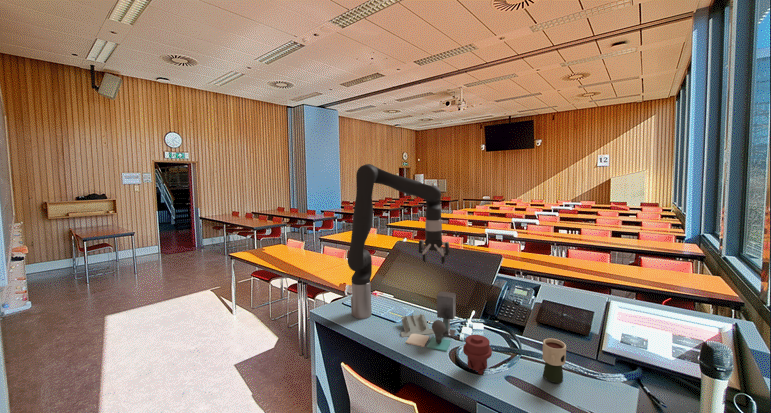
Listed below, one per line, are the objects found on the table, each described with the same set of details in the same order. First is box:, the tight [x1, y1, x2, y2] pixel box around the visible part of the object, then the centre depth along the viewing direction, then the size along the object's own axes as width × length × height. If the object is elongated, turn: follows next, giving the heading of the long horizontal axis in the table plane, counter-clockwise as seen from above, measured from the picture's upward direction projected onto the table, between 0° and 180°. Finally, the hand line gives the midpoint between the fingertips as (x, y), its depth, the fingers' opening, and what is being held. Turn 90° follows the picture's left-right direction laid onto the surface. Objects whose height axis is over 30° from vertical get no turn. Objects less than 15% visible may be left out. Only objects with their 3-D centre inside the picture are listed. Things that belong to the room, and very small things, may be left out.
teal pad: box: [427, 336, 452, 352], centre depth 140 cm, size 8×8×1 cm
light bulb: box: [431, 319, 445, 344], centre depth 139 cm, size 6×6×10 cm
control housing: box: [436, 291, 457, 338], centre depth 148 cm, size 7×5×18 cm
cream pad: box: [405, 334, 430, 348], centre depth 144 cm, size 8×8×1 cm
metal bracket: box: [400, 313, 435, 338], centre depth 154 cm, size 14×6×15 cm
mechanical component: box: [462, 334, 493, 375], centre depth 122 cm, size 12×10×10 cm
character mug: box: [542, 338, 567, 384], centre depth 116 cm, size 11×7×13 cm, turn 149°
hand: (433, 262), depth 158 cm, fingers open, 8 cm apart
